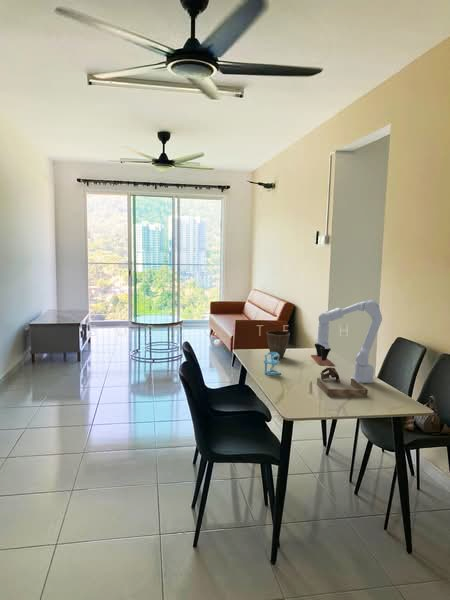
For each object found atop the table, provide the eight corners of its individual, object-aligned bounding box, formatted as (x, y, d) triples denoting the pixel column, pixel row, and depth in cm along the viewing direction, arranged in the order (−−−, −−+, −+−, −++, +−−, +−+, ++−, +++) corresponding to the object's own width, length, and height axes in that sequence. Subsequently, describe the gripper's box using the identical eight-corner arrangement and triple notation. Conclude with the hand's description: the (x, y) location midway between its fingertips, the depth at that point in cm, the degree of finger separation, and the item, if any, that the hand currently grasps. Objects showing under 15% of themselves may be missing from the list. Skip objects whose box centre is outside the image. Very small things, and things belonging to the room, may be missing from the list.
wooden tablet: (336, 367, 245) (336, 364, 245) (319, 367, 245) (319, 364, 245) (323, 355, 272) (323, 353, 271) (309, 355, 271) (309, 352, 271)
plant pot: (264, 359, 255) (265, 334, 253) (266, 353, 270) (267, 329, 268) (288, 361, 253) (289, 336, 251) (288, 355, 267) (290, 331, 265)
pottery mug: (339, 386, 211) (332, 372, 210) (323, 390, 215) (316, 377, 214) (343, 374, 221) (336, 361, 220) (327, 378, 226) (321, 366, 225)
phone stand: (261, 373, 226) (262, 352, 224) (271, 370, 231) (272, 350, 230) (271, 376, 220) (272, 355, 219) (281, 373, 226) (282, 353, 224)
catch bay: (352, 384, 212) (353, 378, 211) (367, 396, 195) (367, 389, 194) (316, 384, 210) (317, 377, 209) (328, 396, 193) (328, 389, 192)
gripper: (312, 331, 231) (310, 354, 232) (320, 337, 216) (319, 361, 218) (324, 331, 231) (322, 355, 233) (333, 337, 217) (331, 362, 219)
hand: (321, 358), depth 226 cm, fingers open, 7 cm apart
